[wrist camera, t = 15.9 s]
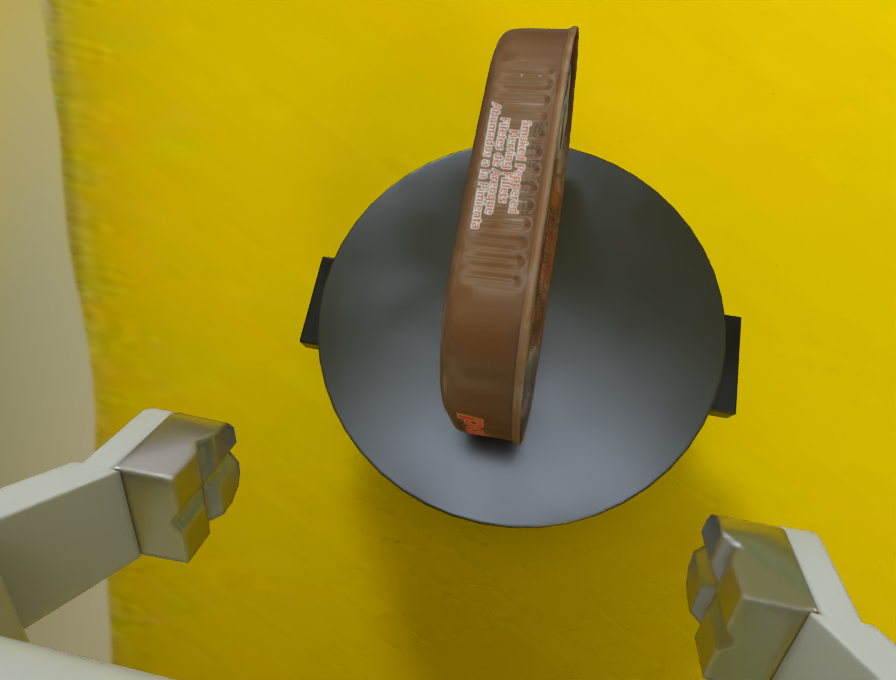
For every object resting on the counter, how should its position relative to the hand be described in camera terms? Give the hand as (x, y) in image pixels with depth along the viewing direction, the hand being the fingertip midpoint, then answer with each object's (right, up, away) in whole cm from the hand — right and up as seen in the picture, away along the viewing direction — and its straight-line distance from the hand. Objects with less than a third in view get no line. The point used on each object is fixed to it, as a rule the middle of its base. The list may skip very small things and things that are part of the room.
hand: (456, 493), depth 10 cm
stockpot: (+3, +1, +23) cm, 24 cm away
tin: (+3, +5, +15) cm, 16 cm away
